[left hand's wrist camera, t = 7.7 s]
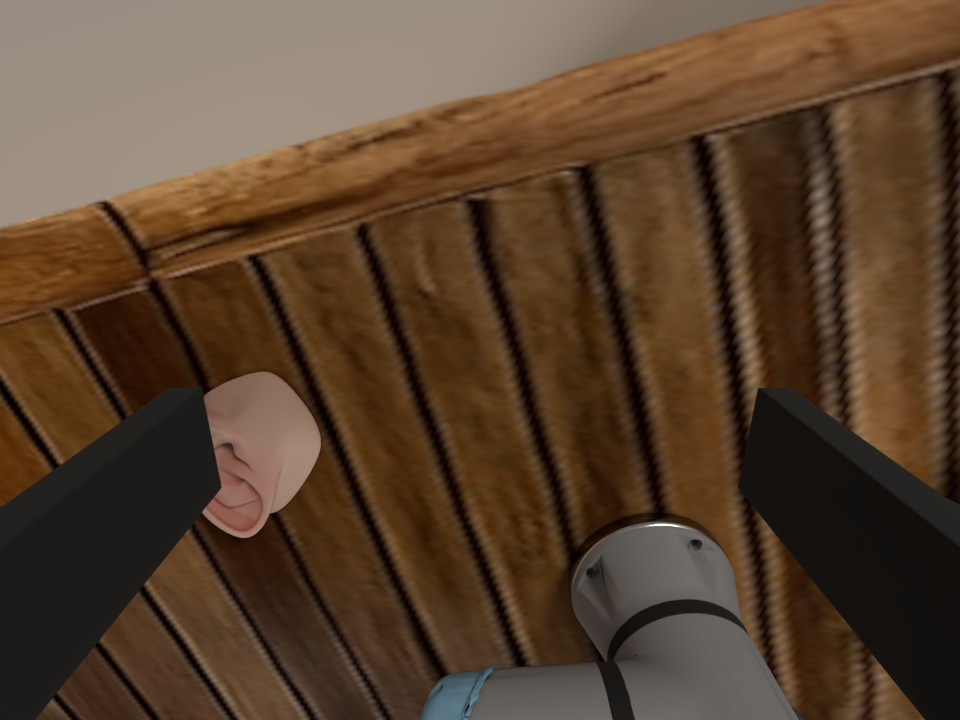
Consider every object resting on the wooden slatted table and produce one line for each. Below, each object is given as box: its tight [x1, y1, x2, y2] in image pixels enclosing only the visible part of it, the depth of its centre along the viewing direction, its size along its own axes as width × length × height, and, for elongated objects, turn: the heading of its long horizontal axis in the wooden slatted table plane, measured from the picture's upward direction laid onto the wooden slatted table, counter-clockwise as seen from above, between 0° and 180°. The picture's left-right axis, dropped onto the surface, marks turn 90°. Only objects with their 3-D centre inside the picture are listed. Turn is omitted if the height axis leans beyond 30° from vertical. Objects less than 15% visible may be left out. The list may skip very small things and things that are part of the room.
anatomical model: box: [202, 372, 321, 538], centre depth 44 cm, size 13×4×12 cm
